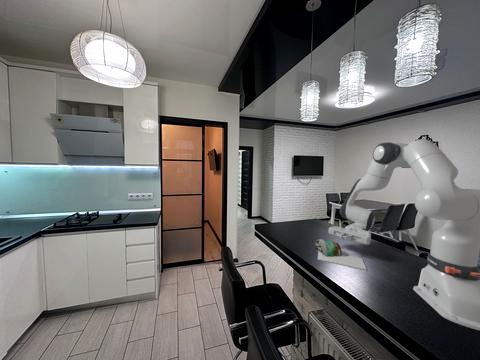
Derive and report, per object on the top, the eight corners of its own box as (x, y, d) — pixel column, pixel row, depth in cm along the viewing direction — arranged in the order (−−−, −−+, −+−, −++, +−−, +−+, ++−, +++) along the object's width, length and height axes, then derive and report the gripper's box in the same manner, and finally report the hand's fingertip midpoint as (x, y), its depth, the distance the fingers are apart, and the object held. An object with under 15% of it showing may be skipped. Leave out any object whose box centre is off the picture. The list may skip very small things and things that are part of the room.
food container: (344, 244, 95) (323, 243, 95) (343, 257, 95) (322, 255, 95) (332, 237, 107) (314, 236, 108) (331, 248, 107) (313, 246, 108)
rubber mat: (366, 270, 84) (366, 269, 84) (317, 259, 92) (317, 258, 92) (361, 259, 95) (362, 258, 95) (318, 250, 103) (318, 250, 103)
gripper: (334, 222, 116) (323, 226, 107) (374, 232, 101) (365, 237, 92) (333, 232, 117) (323, 237, 108) (373, 243, 101) (364, 250, 92)
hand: (343, 237), depth 100 cm, fingers closed
